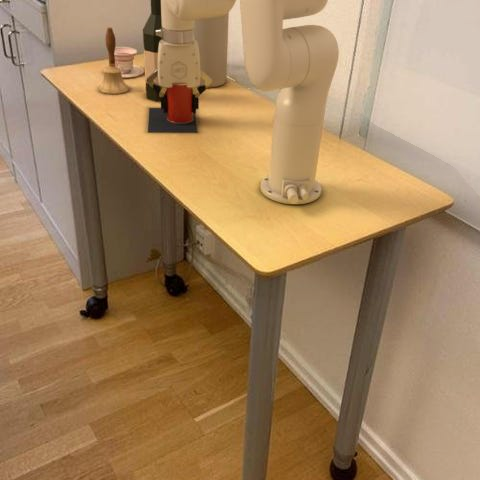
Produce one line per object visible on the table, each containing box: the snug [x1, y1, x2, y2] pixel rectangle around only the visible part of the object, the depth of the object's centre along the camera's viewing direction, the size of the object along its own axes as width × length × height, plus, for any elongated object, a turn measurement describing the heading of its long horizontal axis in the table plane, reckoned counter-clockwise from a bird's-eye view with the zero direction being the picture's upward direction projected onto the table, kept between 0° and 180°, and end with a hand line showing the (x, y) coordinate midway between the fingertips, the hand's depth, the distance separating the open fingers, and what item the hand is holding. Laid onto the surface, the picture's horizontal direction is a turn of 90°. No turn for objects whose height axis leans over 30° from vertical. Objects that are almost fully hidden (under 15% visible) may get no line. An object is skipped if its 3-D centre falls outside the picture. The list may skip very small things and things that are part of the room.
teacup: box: [103, 46, 145, 79], centre depth 173 cm, size 12×12×6 cm
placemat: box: [147, 107, 199, 134], centre depth 148 cm, size 16×12×1 cm
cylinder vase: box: [194, 12, 230, 89], centre depth 164 cm, size 12×12×25 cm
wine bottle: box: [142, 0, 166, 102], centre depth 151 cm, size 8×8×30 cm
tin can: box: [166, 83, 194, 125], centre depth 145 cm, size 7×7×10 cm
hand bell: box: [98, 27, 130, 95], centre depth 158 cm, size 8×8×16 cm
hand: (179, 110), depth 147 cm, fingers closed on tin can, 6 cm apart
